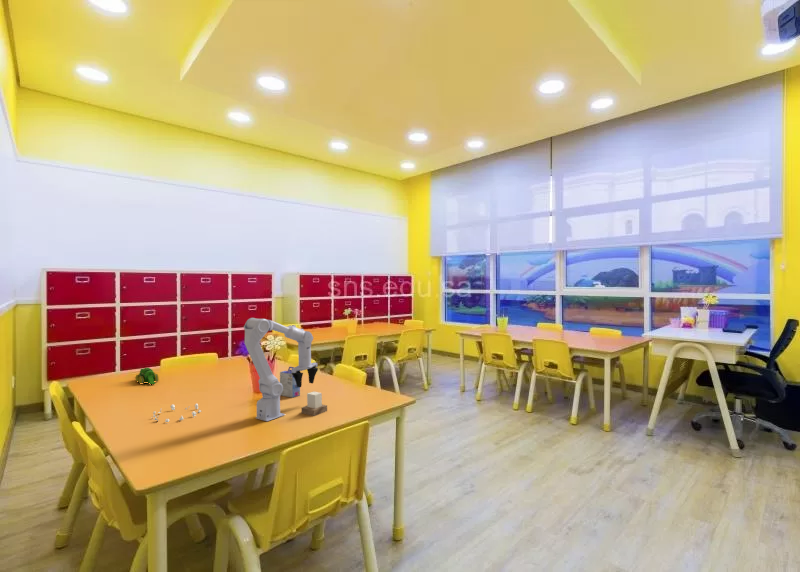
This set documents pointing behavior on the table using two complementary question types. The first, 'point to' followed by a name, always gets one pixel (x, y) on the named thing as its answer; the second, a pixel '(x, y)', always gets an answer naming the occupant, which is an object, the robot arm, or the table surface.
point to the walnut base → (314, 410)
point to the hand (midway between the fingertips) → (305, 385)
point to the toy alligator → (147, 376)
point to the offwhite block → (314, 400)
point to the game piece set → (174, 409)
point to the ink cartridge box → (289, 384)
